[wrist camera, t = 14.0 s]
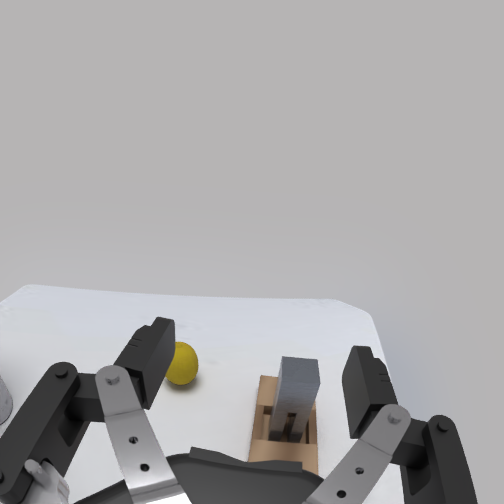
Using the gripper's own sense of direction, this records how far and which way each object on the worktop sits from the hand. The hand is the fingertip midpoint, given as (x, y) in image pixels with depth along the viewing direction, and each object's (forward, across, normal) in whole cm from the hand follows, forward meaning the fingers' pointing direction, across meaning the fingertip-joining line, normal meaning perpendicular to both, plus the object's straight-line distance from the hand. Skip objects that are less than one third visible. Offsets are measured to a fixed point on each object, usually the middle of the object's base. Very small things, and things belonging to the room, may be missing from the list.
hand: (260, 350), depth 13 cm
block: (+14, -5, +26) cm, 30 cm away
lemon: (+22, +11, +28) cm, 37 cm away
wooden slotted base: (+14, -5, +27) cm, 31 cm away
